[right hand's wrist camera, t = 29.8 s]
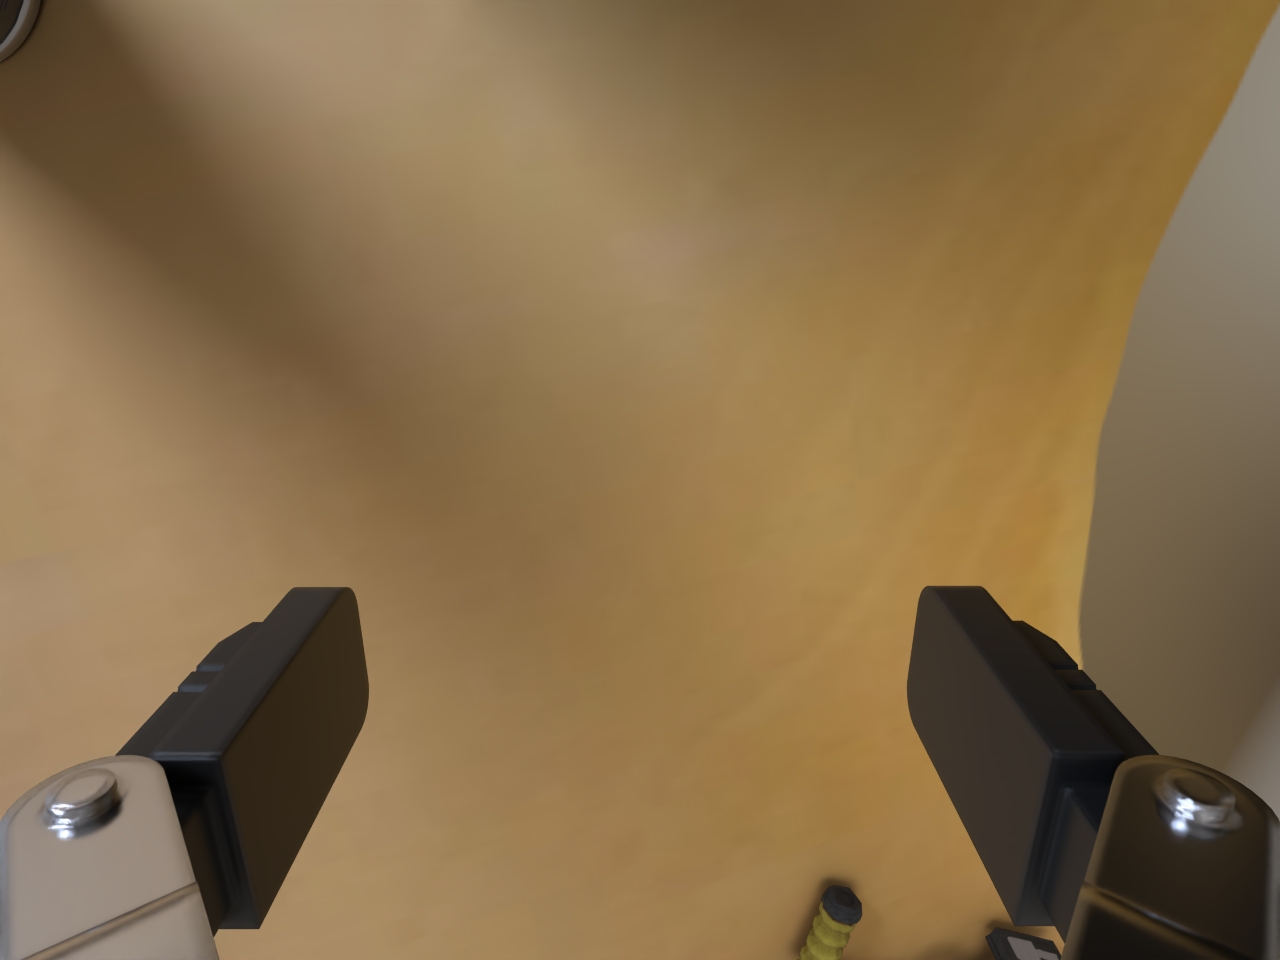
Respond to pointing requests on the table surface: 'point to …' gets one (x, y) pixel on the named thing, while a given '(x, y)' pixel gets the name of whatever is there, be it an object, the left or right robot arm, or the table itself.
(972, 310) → the table surface
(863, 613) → the table surface
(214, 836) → the right robot arm
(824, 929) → the toy gun
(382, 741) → the table surface
